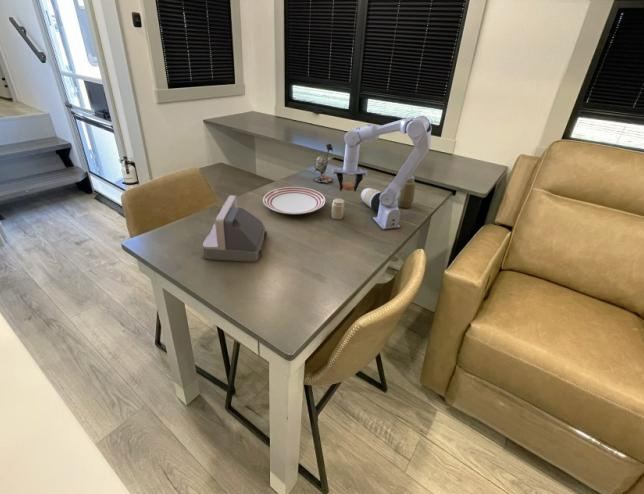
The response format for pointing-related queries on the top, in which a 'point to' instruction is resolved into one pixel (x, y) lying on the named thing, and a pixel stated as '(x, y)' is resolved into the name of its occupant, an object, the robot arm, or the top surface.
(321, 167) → the plant with pod
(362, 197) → the coffee cup
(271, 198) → the dinner plate
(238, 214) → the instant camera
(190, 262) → the top surface
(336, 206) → the jar
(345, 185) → the lid
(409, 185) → the squeeze bottle
